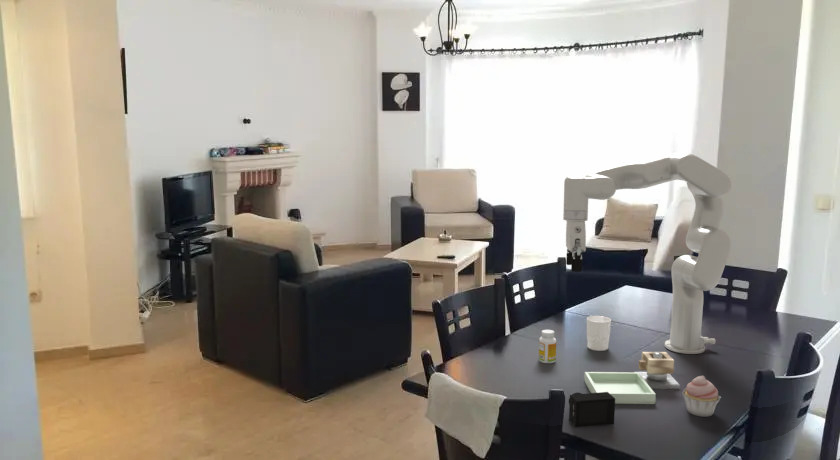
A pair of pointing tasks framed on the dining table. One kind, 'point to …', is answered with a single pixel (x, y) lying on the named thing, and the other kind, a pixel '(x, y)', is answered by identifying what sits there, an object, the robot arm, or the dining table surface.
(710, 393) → the cupcake
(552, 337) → the supplement bottle
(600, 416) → the digital camera
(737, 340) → the dining table surface
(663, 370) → the wooden square frame
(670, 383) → the grey stand
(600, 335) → the white cup
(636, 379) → the tray
